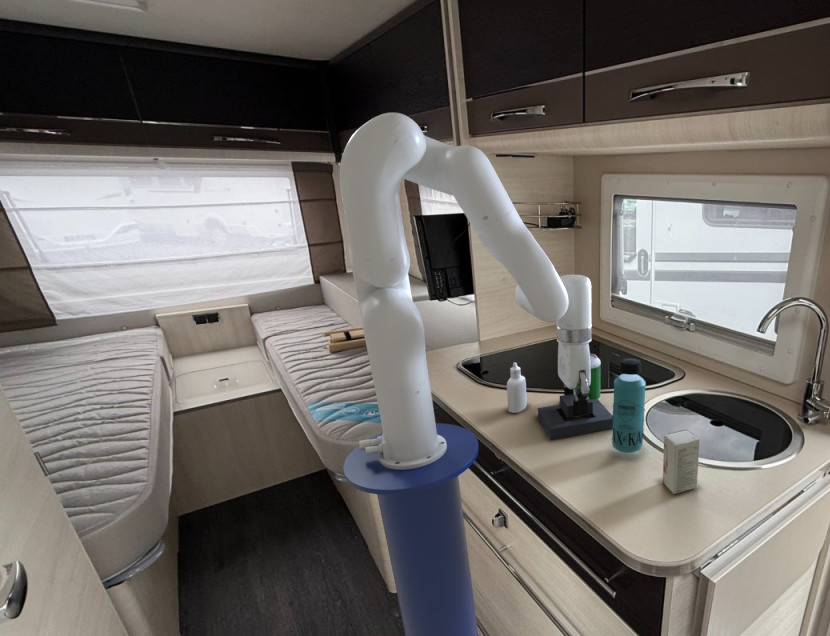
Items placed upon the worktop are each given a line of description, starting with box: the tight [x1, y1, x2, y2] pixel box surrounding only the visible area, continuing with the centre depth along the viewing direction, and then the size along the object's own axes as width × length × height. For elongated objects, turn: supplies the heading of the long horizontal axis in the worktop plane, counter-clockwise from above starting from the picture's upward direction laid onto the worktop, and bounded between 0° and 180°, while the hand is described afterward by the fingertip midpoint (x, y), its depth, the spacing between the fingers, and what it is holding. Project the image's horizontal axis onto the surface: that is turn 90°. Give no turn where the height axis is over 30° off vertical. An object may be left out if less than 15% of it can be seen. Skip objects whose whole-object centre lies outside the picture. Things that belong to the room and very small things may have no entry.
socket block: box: [537, 399, 613, 440], centre depth 108 cm, size 15×11×2 cm
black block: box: [559, 394, 593, 419], centre depth 107 cm, size 6×6×3 cm
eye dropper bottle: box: [506, 362, 528, 414], centre depth 113 cm, size 4×6×12 cm
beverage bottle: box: [611, 357, 647, 454], centre depth 93 cm, size 6×7×20 cm
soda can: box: [577, 353, 602, 401], centre depth 117 cm, size 8×8×12 cm
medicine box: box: [662, 428, 701, 495], centre depth 84 cm, size 5×4×10 cm
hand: (575, 408), depth 107 cm, fingers closed on black block, 6 cm apart
